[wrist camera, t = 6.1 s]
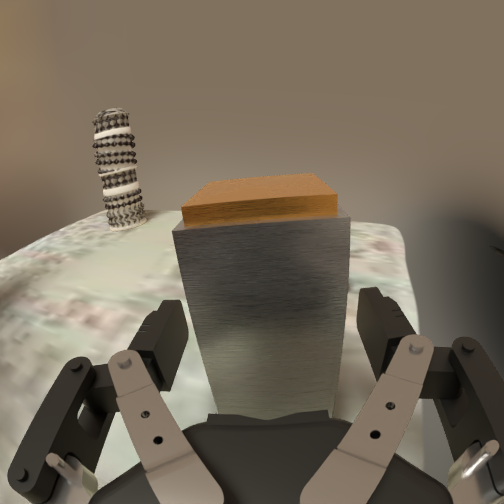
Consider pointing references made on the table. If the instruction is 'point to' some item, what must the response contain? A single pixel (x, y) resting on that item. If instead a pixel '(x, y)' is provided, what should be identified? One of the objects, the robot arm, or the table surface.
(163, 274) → the table surface
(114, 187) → the decorative candle
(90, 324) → the table surface
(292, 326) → the block
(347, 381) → the table surface
